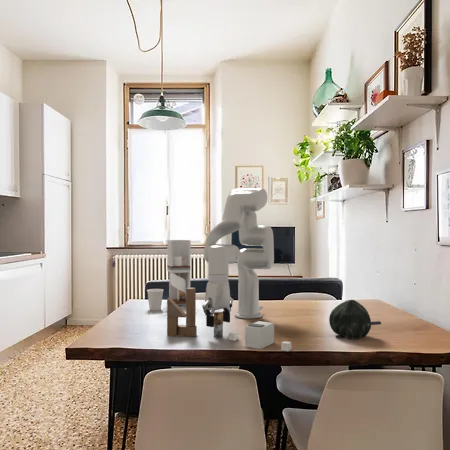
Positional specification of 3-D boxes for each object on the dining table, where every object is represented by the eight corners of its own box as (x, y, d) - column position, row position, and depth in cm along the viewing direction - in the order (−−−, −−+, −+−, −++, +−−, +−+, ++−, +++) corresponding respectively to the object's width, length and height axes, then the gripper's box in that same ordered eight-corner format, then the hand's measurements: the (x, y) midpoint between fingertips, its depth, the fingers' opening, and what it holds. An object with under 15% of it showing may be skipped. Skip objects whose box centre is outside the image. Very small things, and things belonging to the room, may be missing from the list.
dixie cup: (162, 311, 208) (162, 291, 208) (145, 311, 208) (145, 290, 208) (164, 308, 216) (164, 288, 217) (148, 308, 217) (148, 288, 217)
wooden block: (169, 334, 161) (169, 287, 161) (196, 334, 160) (196, 287, 160) (166, 336, 157) (167, 288, 158) (194, 337, 156) (195, 288, 156)
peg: (217, 335, 159) (217, 311, 159) (225, 336, 157) (225, 312, 157) (211, 336, 156) (211, 312, 157) (219, 338, 154) (219, 313, 154)
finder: (259, 340, 152) (259, 319, 152) (273, 342, 149) (273, 321, 149) (245, 346, 143) (245, 324, 144) (260, 349, 140) (260, 327, 140)
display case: (167, 303, 232) (167, 240, 233) (185, 302, 236) (186, 239, 236) (170, 306, 222) (171, 240, 222) (190, 305, 225) (190, 240, 225)
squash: (342, 315, 170) (332, 290, 162) (379, 322, 160) (371, 295, 153) (330, 344, 162) (319, 319, 154) (368, 352, 152) (359, 326, 144)
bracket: (359, 318, 194) (359, 312, 194) (381, 325, 180) (380, 318, 180) (332, 320, 189) (332, 314, 189) (352, 327, 175) (352, 321, 175)
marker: (285, 348, 141) (285, 341, 141) (291, 349, 139) (291, 342, 139) (281, 350, 139) (281, 342, 139) (287, 351, 137) (287, 343, 137)
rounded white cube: (232, 338, 154) (232, 331, 154) (237, 339, 153) (237, 332, 153) (228, 339, 152) (228, 332, 152) (233, 340, 151) (233, 333, 151)
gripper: (224, 275, 166) (224, 319, 166) (195, 280, 153) (195, 327, 152) (239, 277, 162) (240, 321, 162) (211, 281, 148) (211, 330, 148)
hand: (218, 324), depth 157 cm, fingers open, 9 cm apart
